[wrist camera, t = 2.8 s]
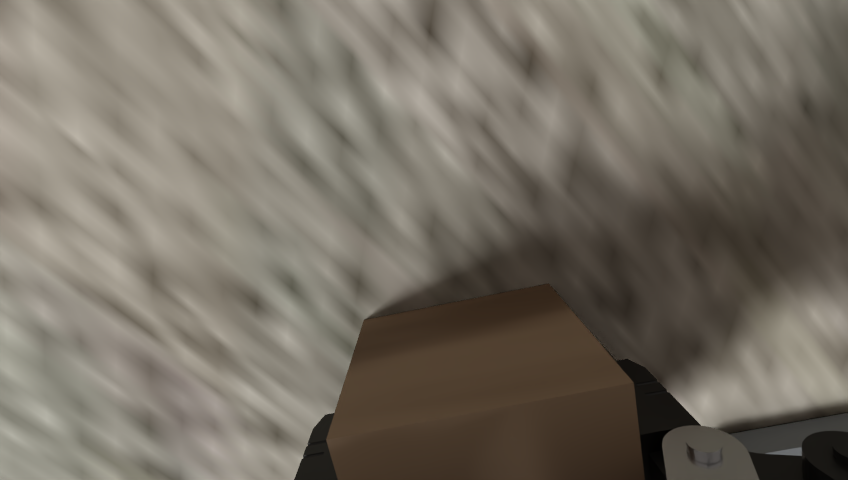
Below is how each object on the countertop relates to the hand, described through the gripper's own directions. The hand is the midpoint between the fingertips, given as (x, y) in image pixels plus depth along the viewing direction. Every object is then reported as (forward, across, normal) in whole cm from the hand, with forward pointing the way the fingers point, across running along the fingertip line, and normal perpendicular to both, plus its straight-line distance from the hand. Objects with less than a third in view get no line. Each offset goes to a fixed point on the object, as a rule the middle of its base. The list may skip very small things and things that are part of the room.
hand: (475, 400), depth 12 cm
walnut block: (+1, 0, 0) cm, 1 cm away
